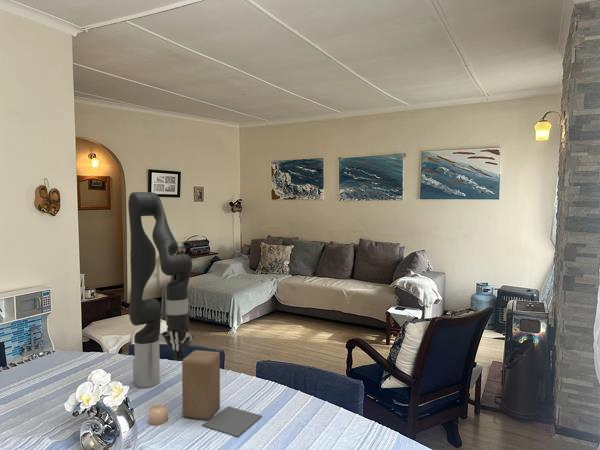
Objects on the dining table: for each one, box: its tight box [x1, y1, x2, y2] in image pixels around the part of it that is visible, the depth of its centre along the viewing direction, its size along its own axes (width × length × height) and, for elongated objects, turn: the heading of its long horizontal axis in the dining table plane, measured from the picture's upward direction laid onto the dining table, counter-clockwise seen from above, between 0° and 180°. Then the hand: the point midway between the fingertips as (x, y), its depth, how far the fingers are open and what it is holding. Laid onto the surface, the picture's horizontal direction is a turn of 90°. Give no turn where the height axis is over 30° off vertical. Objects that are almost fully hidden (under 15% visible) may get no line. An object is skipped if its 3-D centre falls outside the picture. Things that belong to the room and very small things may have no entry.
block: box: [181, 349, 221, 421], centre depth 146 cm, size 10×10×20 cm
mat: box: [201, 405, 263, 438], centre depth 140 cm, size 14×14×1 cm
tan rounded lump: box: [148, 404, 169, 426], centre depth 140 cm, size 6×6×4 cm
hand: (178, 359), depth 150 cm, fingers closed
